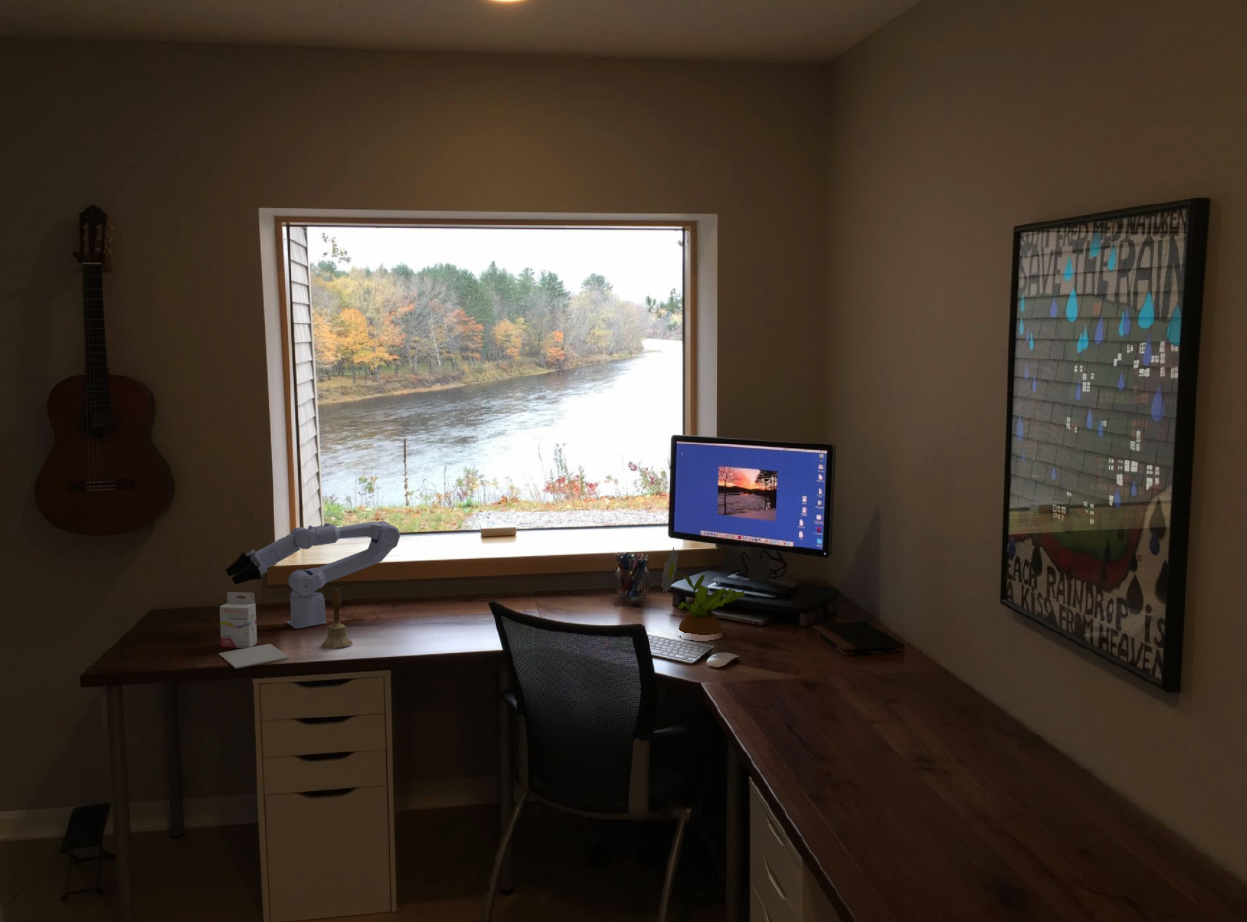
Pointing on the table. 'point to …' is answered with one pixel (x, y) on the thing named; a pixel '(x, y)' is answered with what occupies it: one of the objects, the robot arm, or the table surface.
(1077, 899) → the table surface
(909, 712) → the table surface
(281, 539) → the robot arm
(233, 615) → the ink cartridge box
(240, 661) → the mat
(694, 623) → the decorative plant
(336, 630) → the hand bell
